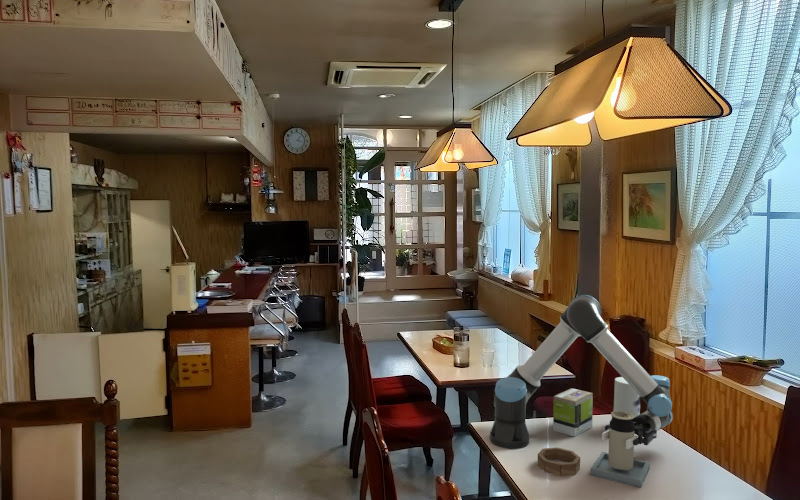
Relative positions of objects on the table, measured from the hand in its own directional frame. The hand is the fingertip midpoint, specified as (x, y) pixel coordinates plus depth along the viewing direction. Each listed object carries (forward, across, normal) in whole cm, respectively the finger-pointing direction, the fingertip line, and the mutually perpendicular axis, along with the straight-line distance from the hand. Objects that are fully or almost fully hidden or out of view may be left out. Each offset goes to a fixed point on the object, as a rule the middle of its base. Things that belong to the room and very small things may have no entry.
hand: (614, 440), depth 195 cm
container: (-45, +18, -12) cm, 51 cm away
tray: (-5, 0, -12) cm, 13 cm away
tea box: (-27, +32, -13) cm, 44 cm away
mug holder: (+8, +16, -12) cm, 22 cm away
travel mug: (-5, 0, -10) cm, 11 cm away
